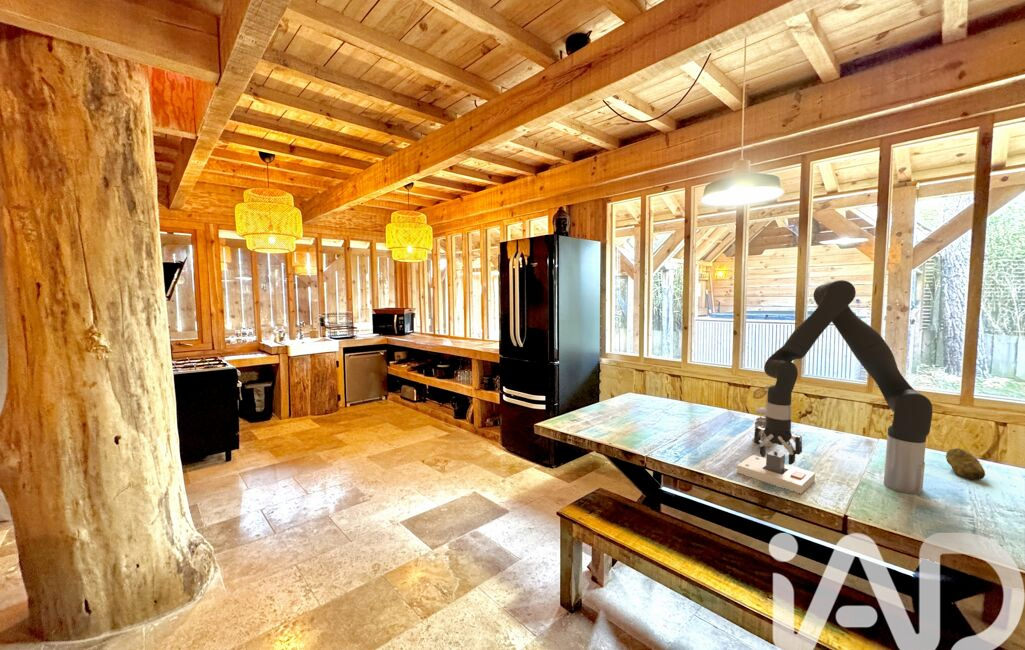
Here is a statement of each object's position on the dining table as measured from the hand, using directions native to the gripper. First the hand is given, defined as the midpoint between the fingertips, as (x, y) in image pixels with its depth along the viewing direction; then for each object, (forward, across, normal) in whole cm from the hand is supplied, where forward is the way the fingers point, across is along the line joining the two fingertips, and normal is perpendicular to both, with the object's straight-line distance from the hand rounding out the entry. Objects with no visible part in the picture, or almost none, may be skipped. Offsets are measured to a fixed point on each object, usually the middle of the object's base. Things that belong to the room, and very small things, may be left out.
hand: (776, 460), depth 145 cm
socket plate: (+6, 0, 0) cm, 6 cm away
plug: (+6, 0, 0) cm, 6 cm away
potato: (+7, -42, -54) cm, 69 cm away
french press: (+7, +15, -32) cm, 36 cm away
